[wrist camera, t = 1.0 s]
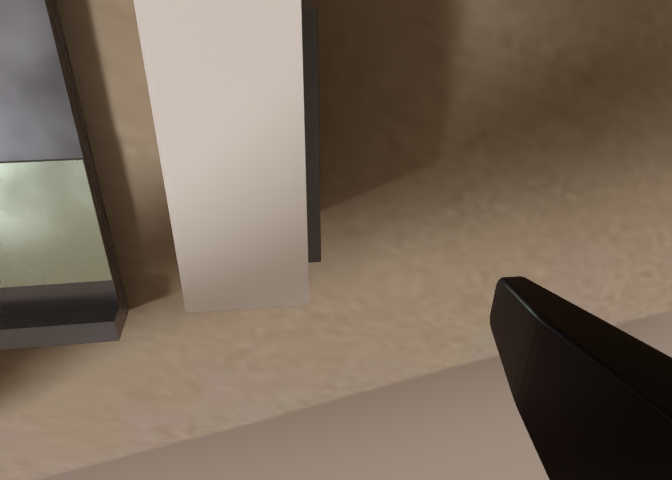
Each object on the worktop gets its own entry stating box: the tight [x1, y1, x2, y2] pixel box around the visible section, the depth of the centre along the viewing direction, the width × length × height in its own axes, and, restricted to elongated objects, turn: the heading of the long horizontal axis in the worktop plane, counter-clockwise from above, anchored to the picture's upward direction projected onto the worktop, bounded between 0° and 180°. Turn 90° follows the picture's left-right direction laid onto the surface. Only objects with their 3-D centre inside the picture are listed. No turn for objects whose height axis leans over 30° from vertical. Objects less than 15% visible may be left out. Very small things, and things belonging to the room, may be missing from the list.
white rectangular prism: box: [134, 0, 321, 313], centre depth 18 cm, size 4×10×6 cm, turn 0°
